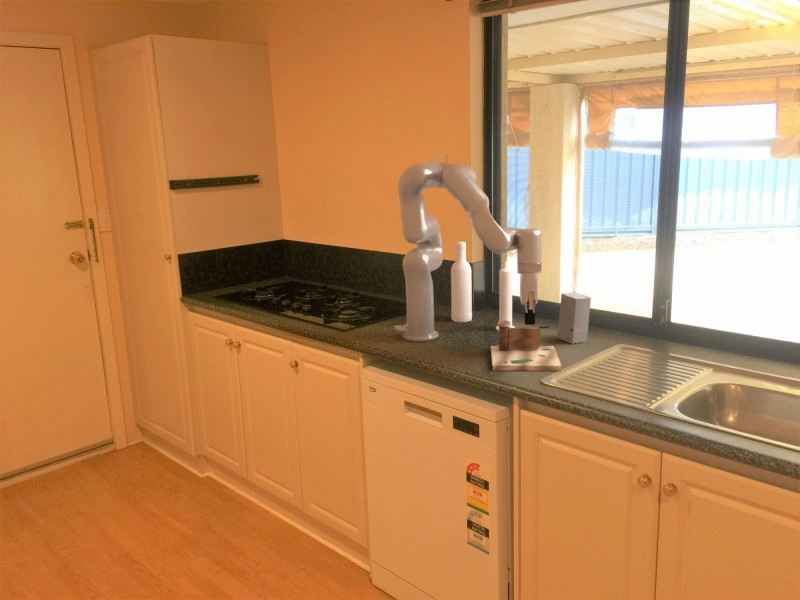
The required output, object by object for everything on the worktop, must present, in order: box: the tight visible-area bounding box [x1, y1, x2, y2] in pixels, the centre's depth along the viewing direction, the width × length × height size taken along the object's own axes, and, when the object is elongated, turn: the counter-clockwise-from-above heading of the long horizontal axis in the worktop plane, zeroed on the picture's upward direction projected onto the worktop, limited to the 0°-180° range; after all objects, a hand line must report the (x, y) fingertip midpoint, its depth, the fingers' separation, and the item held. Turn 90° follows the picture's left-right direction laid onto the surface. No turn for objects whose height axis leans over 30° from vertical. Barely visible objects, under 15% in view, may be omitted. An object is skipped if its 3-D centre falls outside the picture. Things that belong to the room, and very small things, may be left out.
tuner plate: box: [490, 345, 563, 372], centre depth 208 cm, size 20×20×2 cm
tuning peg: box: [497, 320, 550, 351], centre depth 213 cm, size 16×4×9 cm, turn 84°
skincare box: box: [557, 292, 592, 345], centre depth 226 cm, size 8×7×16 cm
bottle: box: [450, 241, 473, 323], centre depth 256 cm, size 8×8×30 cm
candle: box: [495, 260, 516, 332], centre depth 241 cm, size 7×7×25 cm
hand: (529, 323), depth 217 cm, fingers closed
